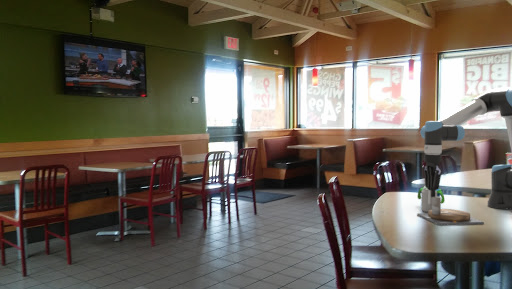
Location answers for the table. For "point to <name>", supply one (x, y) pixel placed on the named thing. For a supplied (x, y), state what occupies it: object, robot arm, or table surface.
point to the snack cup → (437, 194)
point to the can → (426, 200)
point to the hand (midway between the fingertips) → (431, 203)
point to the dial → (446, 212)
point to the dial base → (443, 222)
